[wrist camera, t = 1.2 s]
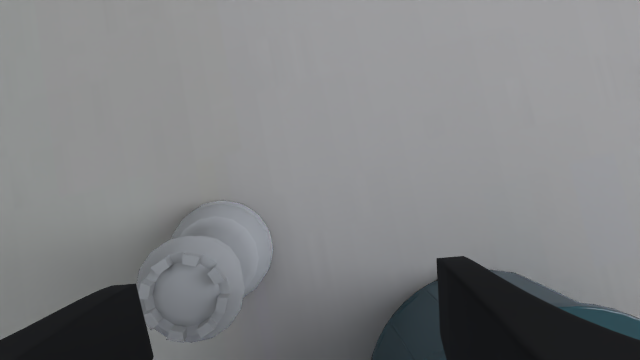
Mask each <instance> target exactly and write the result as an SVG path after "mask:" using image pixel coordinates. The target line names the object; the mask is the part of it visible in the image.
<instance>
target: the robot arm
mask: <svg viewBox="0 0 640 360" xmlns="http://www.w3.org/2000/svg"><path fill="white" fill-rule="evenodd" d="M437 276H438V299H439V321H440V337H441V340H442V344H443V348H444V352H445V355H446V359H447V360H640V340H638V339H635V338H632V337H629V336H626V335H624V334H621V333H618V332H615V331H612V330H610V329H607V328H605V327H602V326H600V325H597V324H595V323H592V322H590V321H587V320H585V319H582V318H580V317H578V316H575V315H573V314H571V313H568V312H566V311H564V310H562V309H560V308H558V307H556V306H554V305H552V304H550V303H548V302H546V301H544V300H541V299H539V298H538V297H536V296H534V295H532V294H530V293H528V292H526V291H524V290H522V289H521V288H519V287H517V286H515V285H514V284H512V283H510V282H508V281H506V280H505V279H503V278H501V277H500V276H498V275H496V274H494V273H493V272H491V271H489V270H488V269H486V268H484V267H483V266H481V265H479V264H477V263H476V262H474V261H472V260H470V259H468V258H466V257H464V256H460V257H448V258H437ZM153 357H154V356H153V352H152V348H151V344H150V339H149V335H148V331H147V327H146V323H145V319H144V315H143V310H142V306H141V302H140V298H139V294H138V290H137V286H136V284H126V285H114V286H110V287H107V288H104V289H101V290H99V291H97V292H94V293H92V294H90V295H88V296H86V297H84V298H82V299H80V300H78V301H76V302H74V303H72V304H70V305H68V306H66V307H64V308H62V309H60V310H58V311H57V312H55V313H53V314H51V315H49V316H47V317H45V318H43V319H41V320H39V321H37V322H35V323H34V324H32V325H30V326H28V327H26V328H24V329H22V330H20V331H18V332H16V333H14V334H12V335H10V336H8V337H6V338H4V339H2V340H0V360H152V359H153Z"/></svg>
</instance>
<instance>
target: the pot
mask: <svg viewBox="0 0 640 360" xmlns="http://www.w3.org/2000/svg"><path fill="white" fill-rule="evenodd" d="M489 271H491V272H493V273H494V274H496V275H498V276H500V277H501V278H503V279H505V280H506V281H508V282H510V283H512V284H514V285H515V286H517V287H519V288H521V289H522V290H524V291H526V292H528V293H530V294H532V295H534V296H536V297H538V298H539V299H541V300H544V301H546V302H548V303H566V302H574V303H579V302H577V301H575V300H573V299H571V298H569V297H567V296H565V295H562V294H560V293H558V292H556V291H554V290H552V289H550V288H547V287H545V286H543V285H541V284H539V283H536V282H534V281H532V280H530V279H528V278H525V277H523V276H521V275H519V274H516V273H513V272H504V271H497V270H489ZM444 354H445V352H444V348H443V344H442V340H441V337H440V321H439V299H438V280H437V281H434V282H432V283H430V284H428V285H427V286H425V287H424V288H422V289H421V290H419V291H417V292H416V293H415V294H414V295H412V296H411V297H410V298H409V299H408V300H406V301H405V302H404V303H403V304H402V305H401V306H400V308H399V309H398V310H397V311H396V312H395V313H394V314H393V316H392V317H391V319H390V320H389V321H388V323H387V324H386V326H385V327H384V329H383V331H382V333H381V335H380V337H379V339H378V341H377V344H376V346H375V349H374V352H373V355H372V359H371V360H439V359H440V358H441V357H442V356H443V355H444Z"/></svg>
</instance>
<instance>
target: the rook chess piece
mask: <svg viewBox="0 0 640 360" xmlns="http://www.w3.org/2000/svg"><path fill="white" fill-rule="evenodd" d="M272 253H273V245H272V240H271V235H270V231H269V229H268V227H267V226H266V225H265V223H264V222H263V220H262V219H261V217H260V216H259V214H257V213H256V212H254V211H253V210H251V209H250V208H248V207H246V206H245V205H243V204H241V203H236V202H231V201H225V200H220V201H215V202H211V203H206V204H203V205H201V206H200V207H198V208H197V209H195V210H194V211H192V212H191V213H189V214H188V215H187V216H186V217H185V218H183V220H182V221H181V223H180V224H179V226H178V227H177V229H176V230H175V232H174V233H173V235H172V239H171V240H168V241H167V242H165V243H164V244H162V245H161V246H159V247H158V248H156V249H155V250H153V251H152V252H151V253H150V254H149V256H148V257H147V259H146V260H145V262H144V263H143V265H142V266H141V268H140V269H139V274H138V279H137V284H136V286H137V290H138V294H139V298H140V302H141V306H142V310H143V315H144V319H145V323H146V324H147V325H148V327H149V328H150V330H152V329H155V330H156V331H158V332H159V333H161V334H163V335H164V336H166V337H167V339H166V340H171V341H177V342H183V343H184V342H190V343H192V342H196V341H201V340H205V339H210V338H213V337H214V336H216V335H217V334H219V333H220V332H222V331H223V330H225V329H226V328H227V327H229V326H230V325H231V323H232V322H233V320H234V319H235V317H236V315H237V314H238V312H239V311H240V309H241V306H242V301H243V297H244V296H246V295H247V294H249V293H250V292H252V291H253V290H254V289H256V288H257V286H258V285H259V283H260V282H261V280H262V279H263V277H264V276H265V274H266V273H267V271H268V270H269V268H270V264H271V258H272Z"/></svg>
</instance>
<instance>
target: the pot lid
mask: <svg viewBox="0 0 640 360" xmlns="http://www.w3.org/2000/svg"><path fill="white" fill-rule="evenodd" d="M550 304H552V305H554V306H556V307H558V308H560V309H562V310H564V311H566V312H568V313H571V314H573V315H575V316H578V317H580V318H582V319H585V320H587V321H590V322H592V323H595V324H597V325H600V326H602V327H605V328H607V329H610V330H612V331H615V332H618V333H621V334H624V335H626V336H629V337H632V338H635V339H638V340H640V318H637V317H635V316H632V315H630V314H627V313H624V312H622V311H619V310H616V309H613V308H608V307H604V306H599V305H595V304H586V303H574V302H566V303H550ZM439 360H447V359H446V355H445V354H444V355H443V356H442V357H441V358H440V359H439Z"/></svg>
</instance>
